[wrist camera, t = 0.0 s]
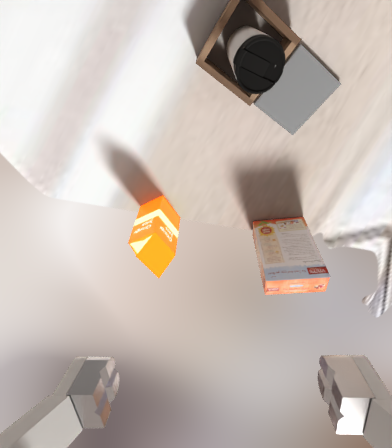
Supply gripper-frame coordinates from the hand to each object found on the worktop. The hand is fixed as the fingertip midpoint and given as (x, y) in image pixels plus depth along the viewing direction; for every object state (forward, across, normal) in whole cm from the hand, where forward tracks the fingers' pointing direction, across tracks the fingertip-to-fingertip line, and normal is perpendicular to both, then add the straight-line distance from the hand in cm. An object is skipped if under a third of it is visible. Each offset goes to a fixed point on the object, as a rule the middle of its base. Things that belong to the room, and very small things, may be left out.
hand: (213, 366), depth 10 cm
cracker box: (+62, -16, +20) cm, 67 cm away
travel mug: (+48, -6, -21) cm, 53 cm away
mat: (+51, -17, -13) cm, 55 cm away
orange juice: (+60, +16, +13) cm, 63 cm away
